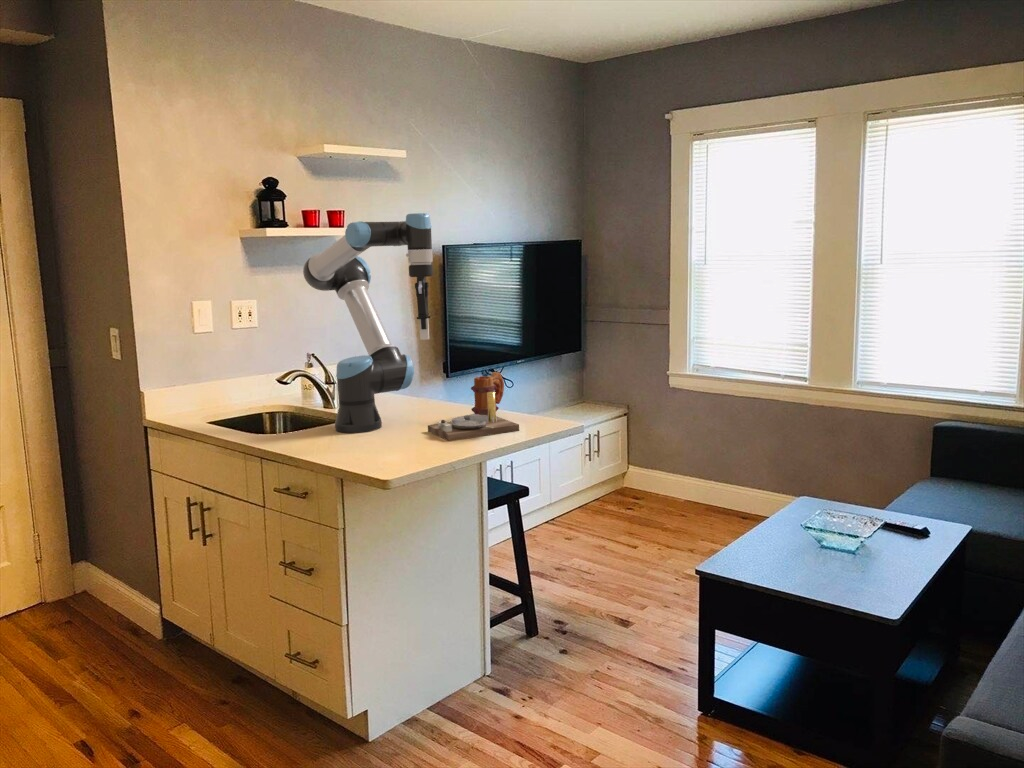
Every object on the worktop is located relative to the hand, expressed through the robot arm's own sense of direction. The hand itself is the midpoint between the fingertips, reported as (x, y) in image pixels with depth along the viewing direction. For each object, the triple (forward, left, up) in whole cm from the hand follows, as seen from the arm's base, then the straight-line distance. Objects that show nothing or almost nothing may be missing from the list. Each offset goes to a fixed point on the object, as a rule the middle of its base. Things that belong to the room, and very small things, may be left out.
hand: (424, 339), depth 261 cm
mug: (-7, +25, -30) cm, 39 cm away
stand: (+10, +11, -29) cm, 33 cm away
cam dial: (+13, +10, -27) cm, 32 cm away
